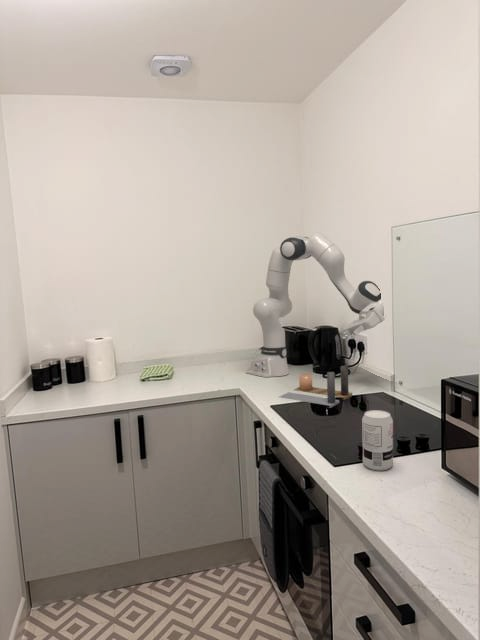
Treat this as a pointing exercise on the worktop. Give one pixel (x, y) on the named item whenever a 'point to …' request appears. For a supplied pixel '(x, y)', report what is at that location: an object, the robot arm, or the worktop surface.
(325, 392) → the walnut strip
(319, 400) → the slate-grey strip
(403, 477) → the worktop surface
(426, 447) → the worktop surface
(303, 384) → the tan rounded blob
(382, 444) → the supplement can
